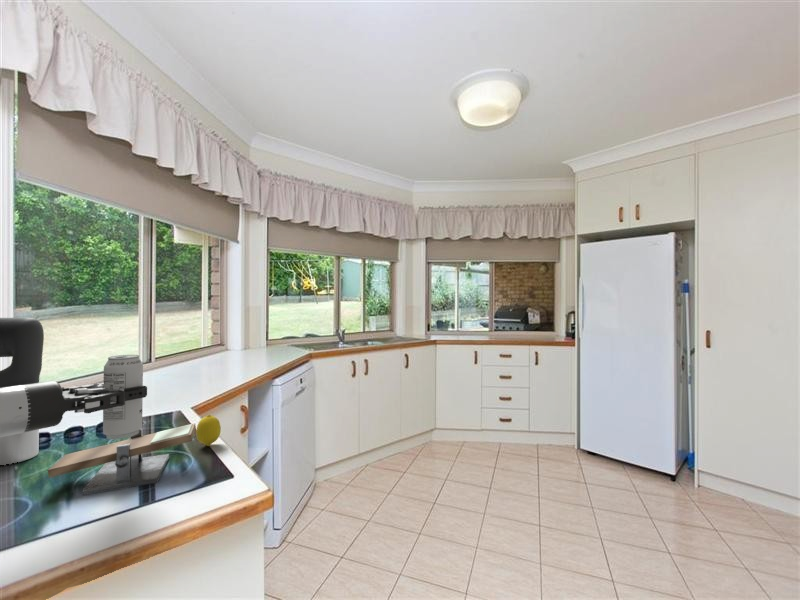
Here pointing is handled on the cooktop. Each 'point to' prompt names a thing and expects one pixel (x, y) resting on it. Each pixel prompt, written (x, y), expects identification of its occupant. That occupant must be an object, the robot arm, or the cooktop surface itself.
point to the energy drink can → (129, 416)
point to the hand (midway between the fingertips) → (137, 388)
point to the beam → (110, 450)
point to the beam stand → (127, 470)
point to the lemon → (208, 430)
